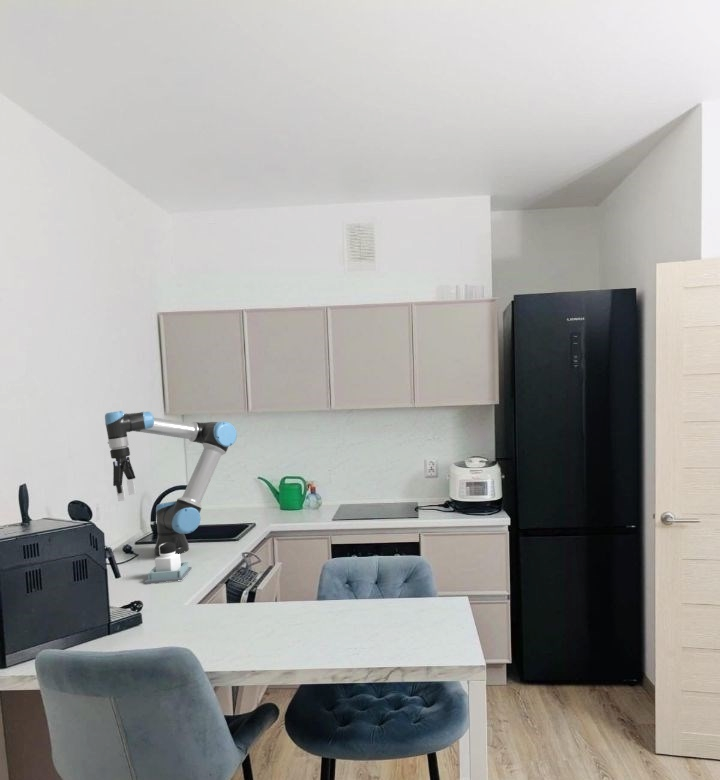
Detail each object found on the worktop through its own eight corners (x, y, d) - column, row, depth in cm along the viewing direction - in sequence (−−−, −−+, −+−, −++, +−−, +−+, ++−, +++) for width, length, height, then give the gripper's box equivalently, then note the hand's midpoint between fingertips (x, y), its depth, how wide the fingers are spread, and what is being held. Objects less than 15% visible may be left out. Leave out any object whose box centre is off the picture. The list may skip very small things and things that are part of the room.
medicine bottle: (181, 571, 237) (179, 541, 238) (171, 576, 231) (169, 545, 231) (166, 571, 239) (164, 541, 239) (155, 576, 232) (153, 546, 233)
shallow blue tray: (157, 572, 242) (156, 563, 242) (191, 569, 243) (191, 560, 243) (144, 584, 226) (144, 575, 226) (181, 581, 227) (181, 572, 227)
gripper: (120, 446, 262) (127, 493, 263) (99, 452, 237) (107, 505, 238) (137, 443, 263) (144, 490, 263) (118, 450, 238) (126, 501, 238)
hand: (127, 497), depth 250 cm, fingers open, 13 cm apart
